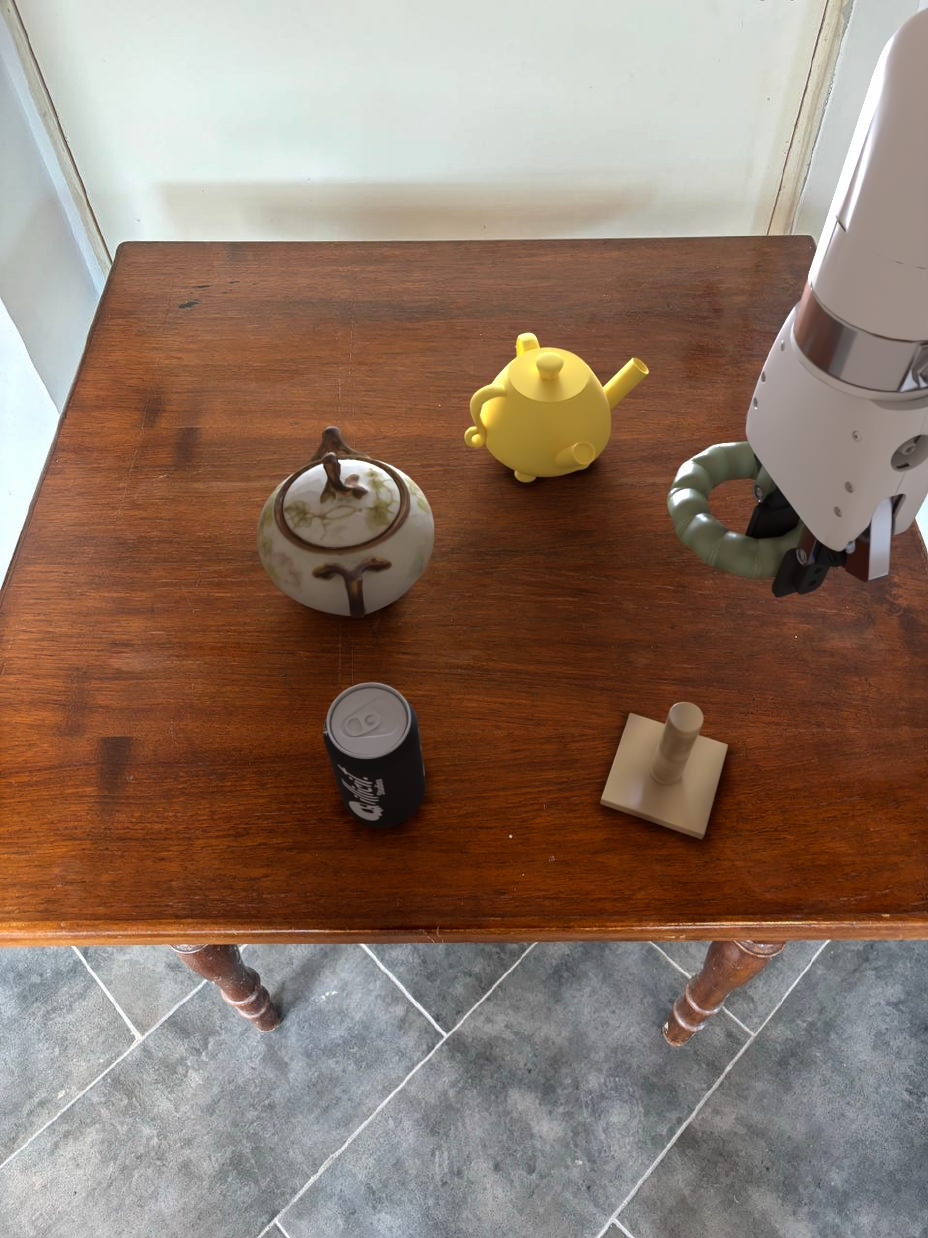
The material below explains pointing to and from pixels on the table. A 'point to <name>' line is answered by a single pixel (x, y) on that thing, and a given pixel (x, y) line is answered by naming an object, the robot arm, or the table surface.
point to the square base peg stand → (666, 771)
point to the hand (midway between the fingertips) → (780, 564)
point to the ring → (707, 531)
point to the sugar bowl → (345, 531)
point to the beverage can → (376, 754)
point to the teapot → (547, 411)
